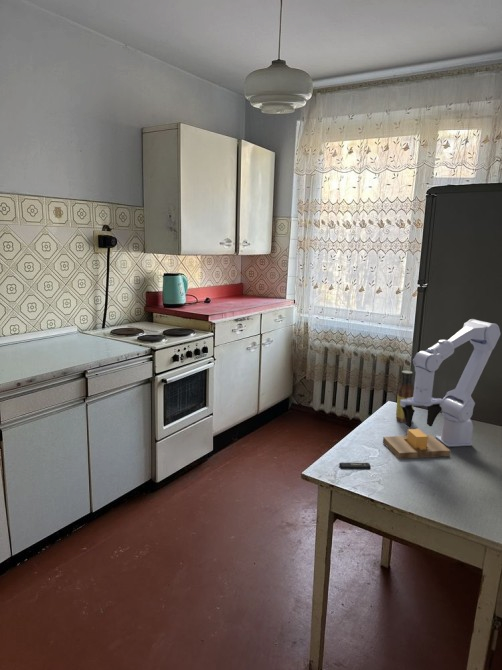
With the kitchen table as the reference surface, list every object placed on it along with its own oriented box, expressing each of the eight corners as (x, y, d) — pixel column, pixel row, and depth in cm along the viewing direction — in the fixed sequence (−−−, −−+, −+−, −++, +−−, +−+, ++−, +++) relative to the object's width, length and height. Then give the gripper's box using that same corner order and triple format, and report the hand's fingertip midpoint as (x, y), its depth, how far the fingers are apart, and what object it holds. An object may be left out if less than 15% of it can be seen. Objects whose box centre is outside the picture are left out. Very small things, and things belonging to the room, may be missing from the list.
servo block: (414, 443, 161) (416, 427, 160) (428, 455, 152) (430, 438, 151) (403, 443, 160) (405, 427, 159) (417, 455, 151) (419, 439, 150)
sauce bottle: (412, 418, 183) (417, 370, 178) (412, 424, 177) (417, 375, 173) (395, 415, 185) (400, 368, 180) (394, 421, 179) (399, 372, 175)
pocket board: (430, 440, 164) (430, 434, 163) (449, 455, 152) (450, 450, 152) (382, 442, 161) (383, 436, 160) (398, 458, 149) (399, 453, 149)
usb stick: (340, 470, 142) (340, 465, 141) (338, 466, 144) (339, 461, 144) (370, 470, 142) (371, 465, 142) (368, 466, 145) (368, 461, 144)
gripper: (408, 392, 146) (404, 431, 149) (450, 390, 149) (445, 429, 152) (398, 384, 153) (394, 422, 156) (438, 383, 156) (433, 421, 159)
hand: (418, 425), depth 154 cm, fingers open, 7 cm apart
